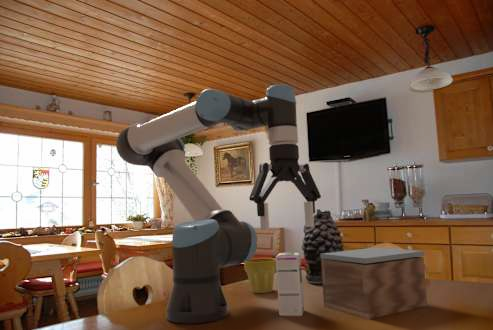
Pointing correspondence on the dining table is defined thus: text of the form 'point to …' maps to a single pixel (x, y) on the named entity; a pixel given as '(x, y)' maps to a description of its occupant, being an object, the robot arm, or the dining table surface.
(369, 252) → the crate lid
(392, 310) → the walnut crate
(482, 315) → the dining table surface
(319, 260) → the dark pine cone
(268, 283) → the plant pot
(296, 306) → the syrup box
